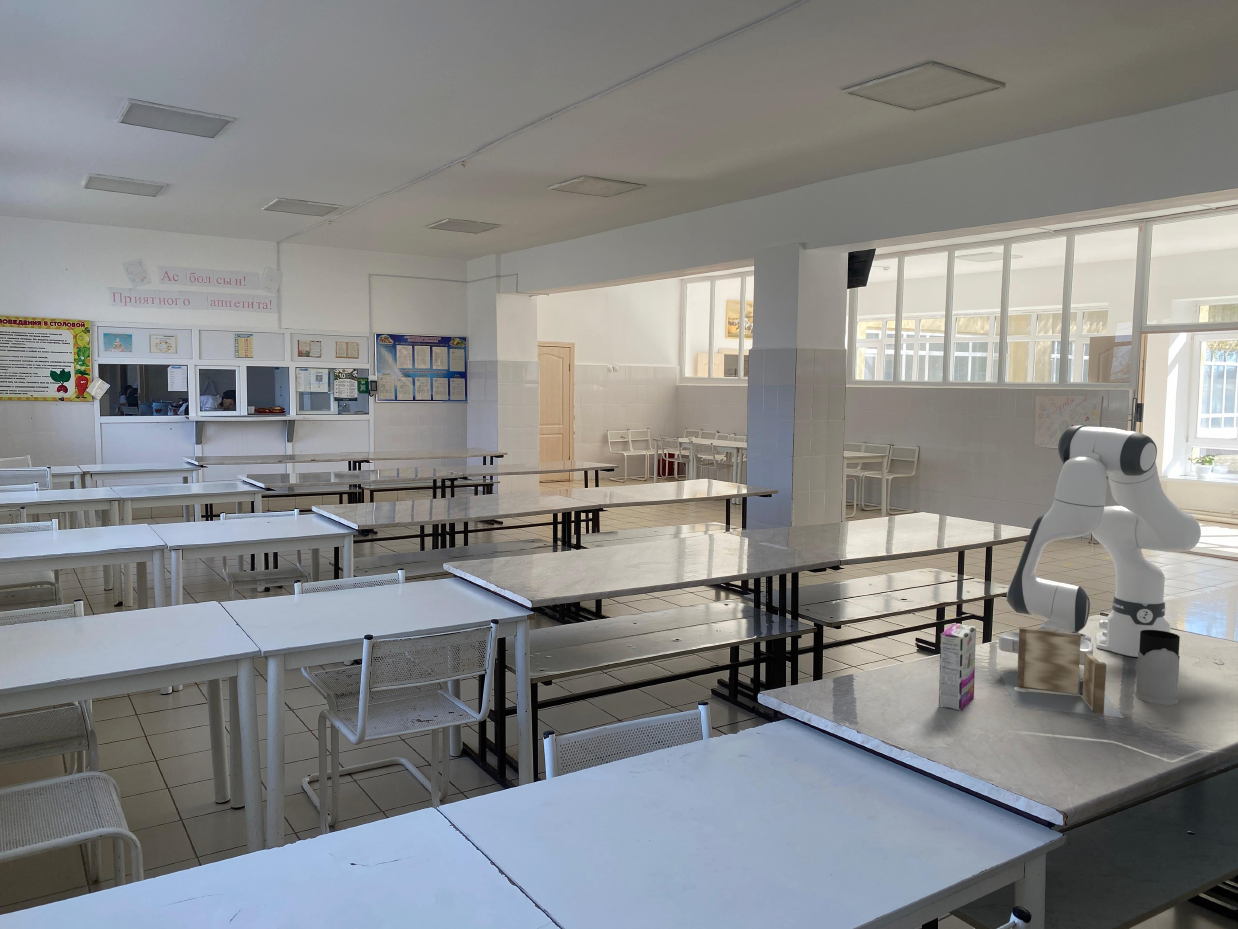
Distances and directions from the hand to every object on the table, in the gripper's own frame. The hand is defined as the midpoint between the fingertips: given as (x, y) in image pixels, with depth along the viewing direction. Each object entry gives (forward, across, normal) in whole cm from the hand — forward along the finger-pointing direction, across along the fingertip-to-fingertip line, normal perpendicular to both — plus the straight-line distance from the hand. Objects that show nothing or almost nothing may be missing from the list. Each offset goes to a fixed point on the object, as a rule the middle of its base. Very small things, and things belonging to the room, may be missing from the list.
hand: (1038, 655), depth 195 cm
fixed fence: (+4, +12, +8) cm, 14 cm away
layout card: (+1, +4, +8) cm, 9 cm away
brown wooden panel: (0, +2, +7) cm, 8 cm away
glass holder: (-13, +22, +8) cm, 26 cm away
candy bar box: (+21, -12, +8) cm, 25 cm away
